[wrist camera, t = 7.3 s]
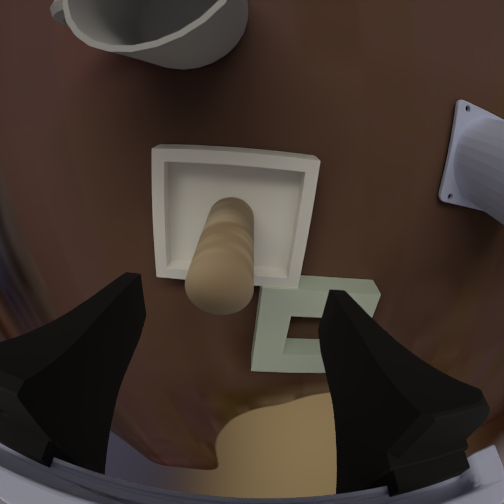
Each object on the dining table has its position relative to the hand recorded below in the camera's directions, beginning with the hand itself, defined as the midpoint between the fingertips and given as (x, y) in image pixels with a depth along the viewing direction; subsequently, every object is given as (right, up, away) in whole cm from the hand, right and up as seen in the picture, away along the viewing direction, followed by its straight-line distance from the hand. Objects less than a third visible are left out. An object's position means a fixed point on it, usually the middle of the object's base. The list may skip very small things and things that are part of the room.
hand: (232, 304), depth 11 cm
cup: (-4, +17, +3) cm, 17 cm away
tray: (-1, +5, +9) cm, 10 cm away
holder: (+5, -4, +14) cm, 15 cm away
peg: (-1, +4, +9) cm, 10 cm away
